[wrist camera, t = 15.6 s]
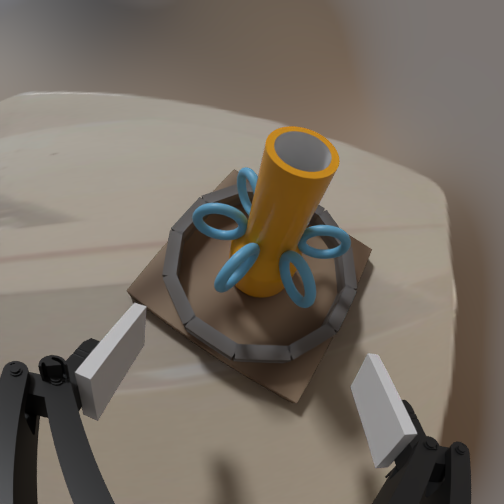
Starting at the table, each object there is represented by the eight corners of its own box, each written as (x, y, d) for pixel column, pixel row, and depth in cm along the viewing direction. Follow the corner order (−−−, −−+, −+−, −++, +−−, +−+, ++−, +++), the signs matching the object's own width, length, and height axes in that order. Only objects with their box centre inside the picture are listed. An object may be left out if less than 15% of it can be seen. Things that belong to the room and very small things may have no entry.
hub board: (130, 296, 26) (120, 282, 23) (233, 177, 35) (235, 157, 32) (292, 402, 24) (303, 403, 21) (366, 255, 32) (380, 240, 29)
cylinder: (182, 309, 25) (154, 207, 12) (207, 212, 30) (211, 83, 17) (318, 332, 26) (418, 260, 12) (322, 235, 31) (388, 126, 17)
